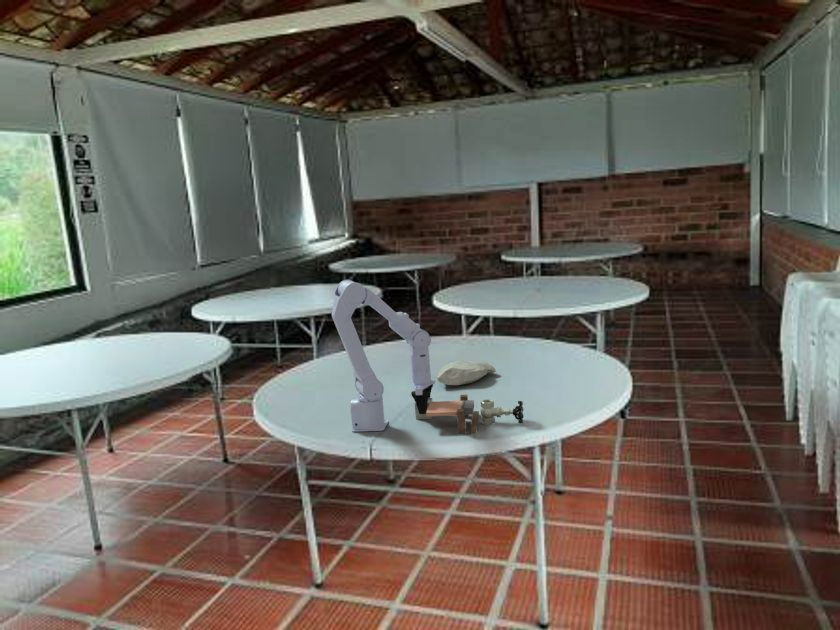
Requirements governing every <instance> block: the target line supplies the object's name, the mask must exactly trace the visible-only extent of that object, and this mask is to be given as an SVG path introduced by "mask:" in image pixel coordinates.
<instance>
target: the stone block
mask: <svg viewBox="0 0 840 630" xmlns="http://www.w3.org/2000/svg"><path fill="white" fill-rule="evenodd" d="M430 402H434V401H433V397H430V398H428V404H427V409H428V406H429V404H430ZM414 411H415V420H432V419H433V416H426V414H419V411H418V408H417V405H416V402H415V401H414Z"/></svg>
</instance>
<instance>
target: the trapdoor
mask: <svg viewBox="0 0 840 630" xmlns="http://www.w3.org/2000/svg"><path fill="white" fill-rule="evenodd" d="M457 409H464V413H465V415H469V416H470V415H471V416H472V415H473V411H475V401H474V400H473V399H470V400H466V401H465V400H463V401H460V400H444V401H441V400H440V401H439V400H438V401H433V402H430V404H429V406H428V409H427V412H426V416H432V417H442V416H443V417H444V416H445V417H447V416H450V417H451V416H457Z"/></svg>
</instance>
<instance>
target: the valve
mask: <svg viewBox="0 0 840 630" xmlns="http://www.w3.org/2000/svg"><path fill="white" fill-rule="evenodd" d="M523 403H524V402H523V401H522V400H518V401H517V404H518V405H516V406H515V407H514V408H513V409H512V410H510V408H504V409H503V408H501V406H496V407H495V402H494V400H493V399H489V398H488V399H483V400H481V401H480V407H481V408H480V416H481V423H482V424H483V425H493V424H495V423H496V418H501V416H503V415H505V416H511V415H512V416H514V418H515V420H517V421H518V422H517V423H518V424H524V420H523V419H524V413H523V411H524V407H523V405H524V404H523Z"/></svg>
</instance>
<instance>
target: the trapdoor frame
mask: <svg viewBox="0 0 840 630" xmlns="http://www.w3.org/2000/svg"><path fill="white" fill-rule="evenodd" d="M459 397H460V398H459V399H460V400H459V401H463V400H465V401H466V400H468V398H469V397H468V394H460V395H459ZM479 415H480V414H479V411H478V410H473V415H471V422H470V427H469V428H470V429H469V431H470V434H476V433H477V429H478V424H479ZM469 417H470V415H465V413H464V409H457V415H456V422H457V433H458V434H459V435H461V434H464V435H465V434H466V432H467V431H466V430H467V429H466V418H469Z"/></svg>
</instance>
